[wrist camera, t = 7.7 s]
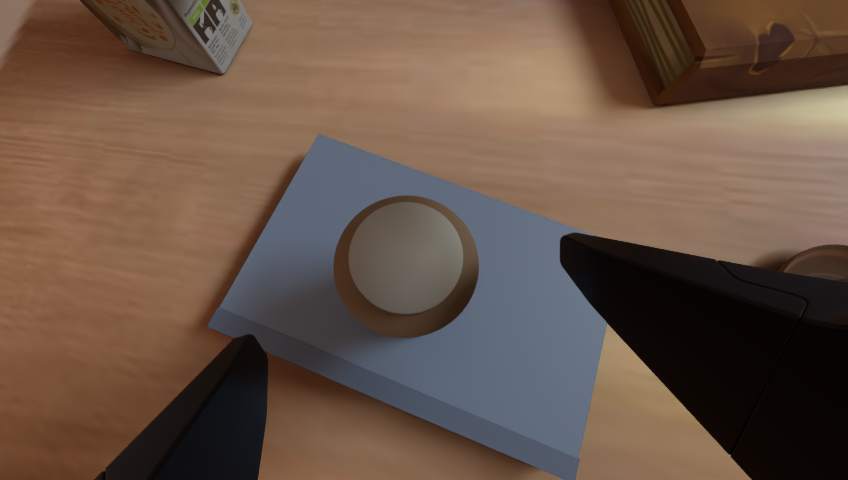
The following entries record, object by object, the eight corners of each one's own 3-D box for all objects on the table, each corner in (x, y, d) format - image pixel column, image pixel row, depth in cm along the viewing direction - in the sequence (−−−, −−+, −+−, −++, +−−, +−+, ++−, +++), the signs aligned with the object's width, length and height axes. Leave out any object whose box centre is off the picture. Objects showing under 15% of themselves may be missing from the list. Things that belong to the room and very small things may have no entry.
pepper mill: (403, 356, 19) (394, 375, 9) (351, 290, 20) (293, 245, 10) (466, 300, 20) (518, 264, 10) (414, 240, 21) (415, 156, 11)
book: (550, 462, 20) (574, 483, 17) (234, 327, 22) (206, 326, 19) (598, 257, 24) (624, 246, 21) (328, 156, 26) (317, 133, 23)
